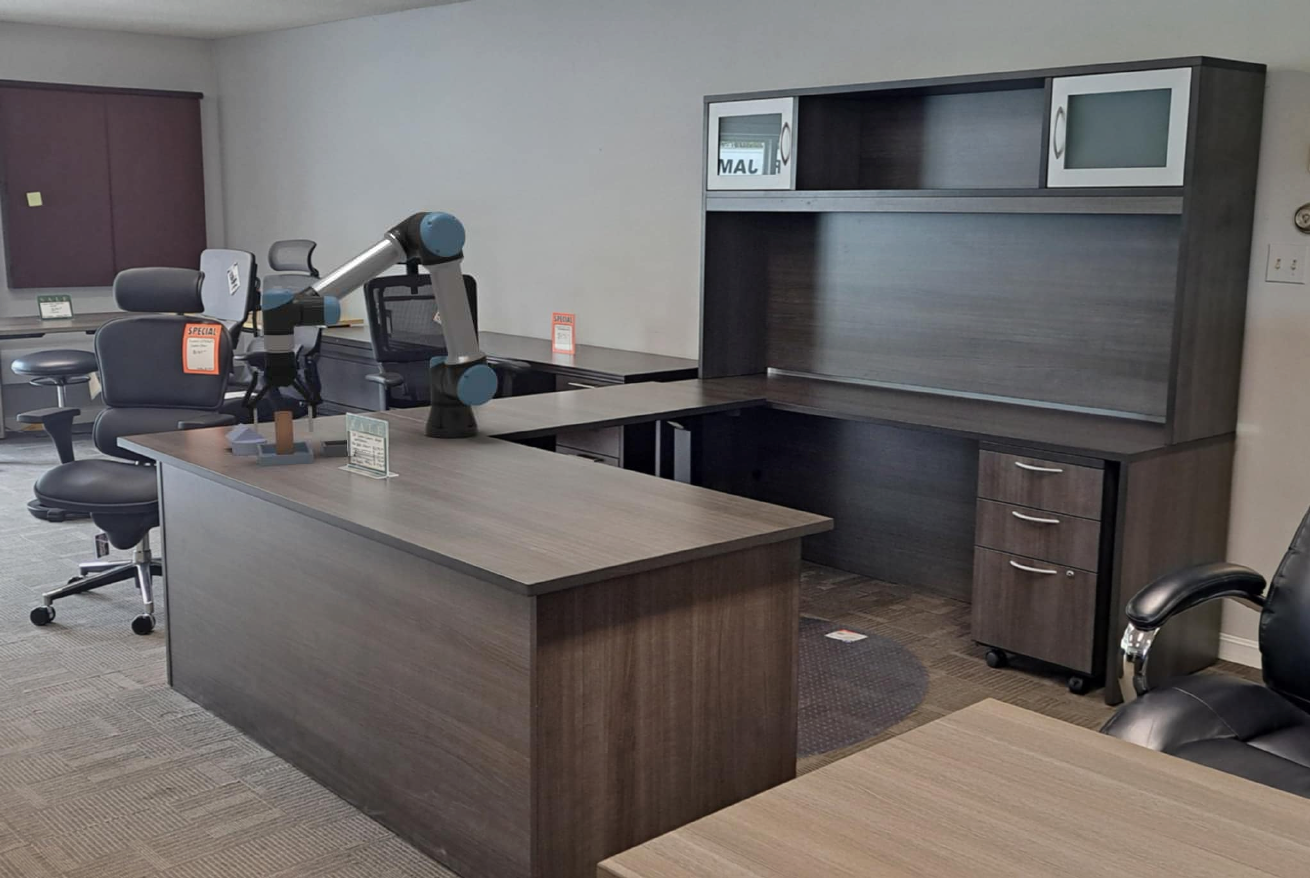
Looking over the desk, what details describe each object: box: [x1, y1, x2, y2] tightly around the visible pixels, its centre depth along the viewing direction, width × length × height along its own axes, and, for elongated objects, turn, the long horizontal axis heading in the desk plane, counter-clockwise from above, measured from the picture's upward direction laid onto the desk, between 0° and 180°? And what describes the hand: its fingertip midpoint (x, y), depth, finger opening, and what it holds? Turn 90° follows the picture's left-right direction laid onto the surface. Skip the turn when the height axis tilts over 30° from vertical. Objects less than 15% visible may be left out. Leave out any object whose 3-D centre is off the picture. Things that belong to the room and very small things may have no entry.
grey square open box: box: [320, 439, 348, 459], centre depth 323 cm, size 8×8×4 cm
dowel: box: [273, 410, 295, 455], centre depth 316 cm, size 4×4×12 cm
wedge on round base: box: [224, 423, 268, 456], centre depth 330 cm, size 9×7×13 cm
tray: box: [256, 441, 315, 468], centre depth 317 cm, size 13×18×3 cm
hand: (283, 432), depth 316 cm, fingers open, 13 cm apart
